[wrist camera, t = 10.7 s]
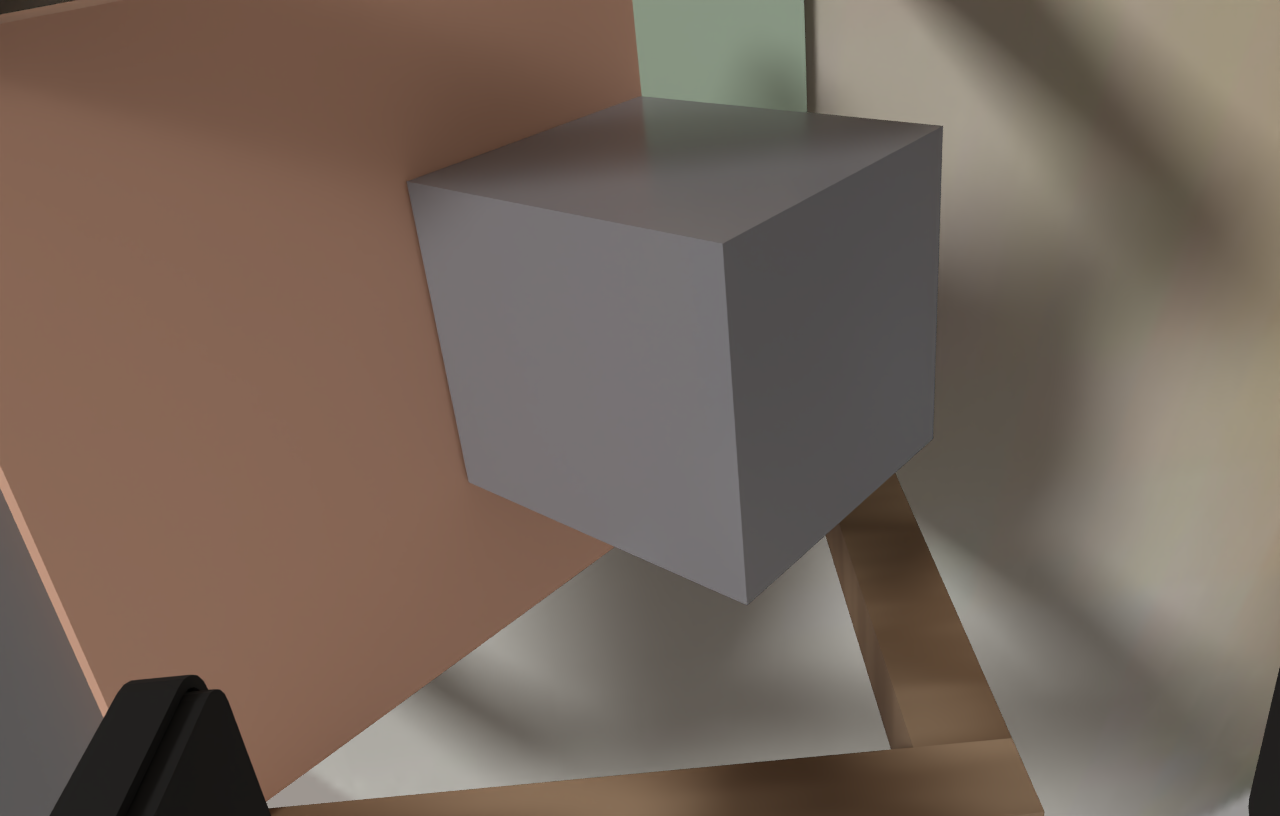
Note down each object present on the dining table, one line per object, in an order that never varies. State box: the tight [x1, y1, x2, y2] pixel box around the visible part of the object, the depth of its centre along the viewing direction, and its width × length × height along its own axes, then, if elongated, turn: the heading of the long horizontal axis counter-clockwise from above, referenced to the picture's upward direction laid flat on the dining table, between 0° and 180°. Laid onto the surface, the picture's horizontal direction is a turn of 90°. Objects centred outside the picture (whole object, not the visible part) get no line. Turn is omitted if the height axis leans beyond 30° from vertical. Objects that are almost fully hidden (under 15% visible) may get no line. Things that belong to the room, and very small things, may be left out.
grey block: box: [407, 96, 943, 605], centre depth 18 cm, size 5×5×6 cm
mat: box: [632, 0, 807, 112], centre depth 27 cm, size 11×11×1 cm
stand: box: [269, 473, 1044, 816], centre depth 20 cm, size 21×16×15 cm
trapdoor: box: [0, 0, 642, 816], centre depth 17 cm, size 18×12×4 cm
